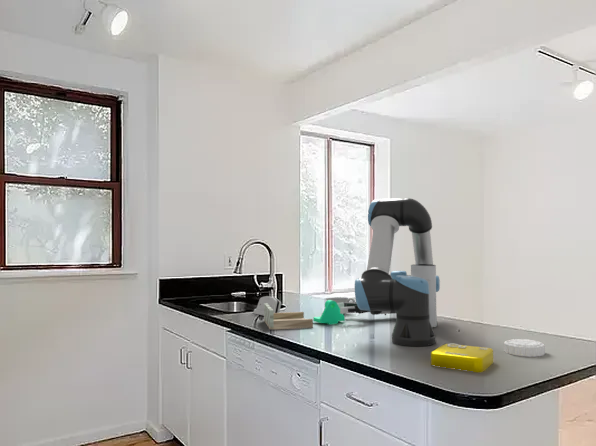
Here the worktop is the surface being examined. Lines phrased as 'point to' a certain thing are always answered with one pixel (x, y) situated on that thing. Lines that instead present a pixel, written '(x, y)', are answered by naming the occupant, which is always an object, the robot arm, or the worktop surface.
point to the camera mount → (330, 314)
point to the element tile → (462, 357)
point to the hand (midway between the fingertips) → (335, 308)
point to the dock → (285, 319)
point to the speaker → (430, 275)
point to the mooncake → (524, 347)
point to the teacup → (340, 299)
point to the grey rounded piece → (271, 301)
